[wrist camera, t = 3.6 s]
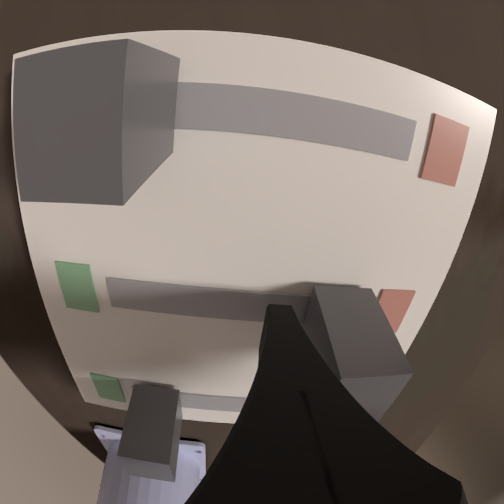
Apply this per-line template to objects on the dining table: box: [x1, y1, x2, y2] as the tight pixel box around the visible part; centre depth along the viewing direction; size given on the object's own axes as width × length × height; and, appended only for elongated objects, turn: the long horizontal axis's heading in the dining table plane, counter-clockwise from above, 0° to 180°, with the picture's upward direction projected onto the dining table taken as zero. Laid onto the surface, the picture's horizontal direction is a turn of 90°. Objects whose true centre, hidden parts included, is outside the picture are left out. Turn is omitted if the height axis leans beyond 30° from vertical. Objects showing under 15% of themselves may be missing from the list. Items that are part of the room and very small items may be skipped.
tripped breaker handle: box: [302, 285, 413, 422], centre depth 9 cm, size 2×2×4 cm
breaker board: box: [11, 30, 497, 482], centre depth 9 cm, size 16×15×5 cm
